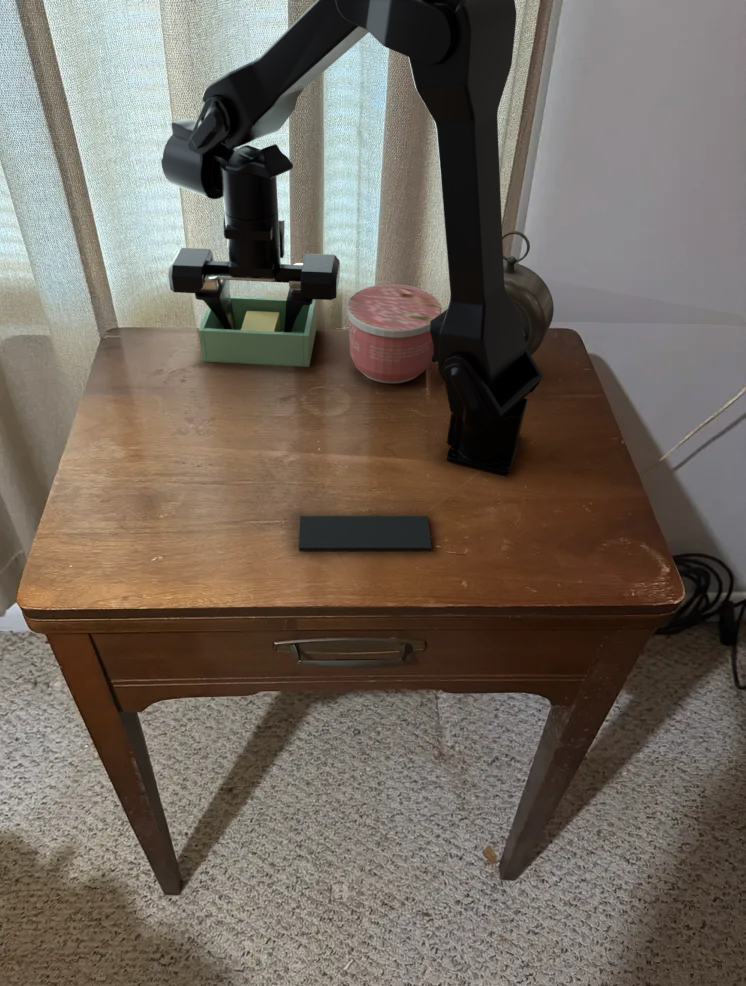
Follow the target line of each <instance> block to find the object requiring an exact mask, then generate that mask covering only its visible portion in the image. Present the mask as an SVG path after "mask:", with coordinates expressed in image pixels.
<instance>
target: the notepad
mask: <svg viewBox="0 0 746 986" xmlns="http://www.w3.org/2000/svg"><path fill="white" fill-rule="evenodd" d="M241 330H249V331H269V332H280V315H279V312H262V311H247V312H246V315H245V318H244V321H243V324H242V327H241Z"/></svg>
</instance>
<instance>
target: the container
mask: <svg viewBox="0 0 746 986" xmlns="http://www.w3.org/2000/svg"><path fill="white" fill-rule="evenodd" d="M441 313H442V305H441V303H440V301H439V300H438V299H437V298H436V297H435V296H434V295H433V294H432V293H429V292H428V291H426V290H423V289H421V288H418V287H416V286H411V285H405V284H395V283H392V284H391V283H387V284H386V283H385V284H378V285H373V286H368V287H366V288H363V289H360V290H359V291H357V292H355V293H354V294H353V295H351V297H350V298H349V299H348V301H347V303H346V316H347V318H348V339H349V355H350V357H351V359H352V362H353V365H354V366H355V368H356V369H357V370H358V371H359V372H360V373H362V375H364V376H365V377H366V378H368V379H370V380H372V381H376V382H378V383H383V384H402V383H406V382H410V381H411V380H414V379H415V378H417V377H418V376H419V375H421V374H422V373H424V372H425V371H426V370H427V368H428V367H429V365H430V363H431V362H432V357H433V354H434V346H433V341H432V337H431V333H430V322H431V320H432V319H434V318H435V317H437V316H438V315H439V314H441Z"/></svg>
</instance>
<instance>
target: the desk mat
mask: <svg viewBox="0 0 746 986" xmlns="http://www.w3.org/2000/svg"><path fill="white" fill-rule="evenodd" d="M429 524H430V523H429V518H428V515H300V516H299V531H298V532H299V534H298V551H299V552H356V551H357V552H373V551H374V552H377V551H378V552H387V551H388V552H390V551H391V552H396V551H397V552H400V551H401V552H406V551H407V552H408V551H409V552H412V551H413V552H420V551H421V552H422V551H423V552H424V551H425V552H430V551H432V550H433V547H432V540H431V539H432V538H431V532H430V531H431V530H430V525H429Z"/></svg>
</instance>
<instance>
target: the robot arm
mask: <svg viewBox="0 0 746 986" xmlns="http://www.w3.org/2000/svg"><path fill="white" fill-rule="evenodd" d="M516 7H517V6H516V0H315V1H314V2H313V3H312V4H311V5H310V6H309V7H308V8H307V9H306V10H305V11H304V12H303V13H302V14H301V16H299V17H298V19H296V20H295V21H294V22H293V24H291V25H290V26H289V27H288V28H287V29H286V30H285V31H284V32H283V33H282V34H281V35H280V36H279V37H278V38H277V39H276V40H275V41H274V42H273V43H272V44H271V45H270V46H269V47H268V48H267V49H266V50H265V51H264V52H263V53H262V54H261V55H260V56H259V57H257V58H256V59H253V60H252V61H250V62H248V63H246V64H244V65H242V66H240V67H237V68H236V69H233V70H231V71H229V72H227V73H226V74H223V75H221V76H220V77H219V78H217V79H215V80H214V81H212V82H210V83H209V84H207V86H206V87H205V89H204V91H203V94H202V99H201V100H202V102H203V105H202V108H201V111H200V113H199V115H198V118H197V119H196V121H194V120H193V119H190V118H187V117H185V118H181V119H179V120H175V121H172V122H171V131H172V134H171V135H170V137H169V138H168V139H167V141H166V142H165V145H164V148H163V152H162V158H161V161H160V162H161V168H162V172H163V175H164V177H165V179H166V180H167V181H168V182H169V183H170V184H171V185H173V186H174V187H178V188H180V189H183V190H185V191H189V192H191V193H194V194H197V195H199V196H202V197H204V198H208V199H211V200H219V199H221V198H222V200H223V222H222V223H223V225H222V226H223V227H222V228H223V238H224V239H226V243H227V253H228V261H224V260H222V261H221V260H214V253H213V251H212V250H211V248H197V247H181V248H180V249H179V250H178V251H177V252H176V253H175V256H174V258H173V260H172V261H171V263H170V265H169V268H168V273H167V274H168V275H167V276H168V282H169V289H170V291H172V293H180V294H181V293H183V294H194V297H195V299H196V300H197V301H203V302H204V303H205V305H206V306H207V307H209V308H210V309H211V310H212V312H213V313H214V314H215V315H216V317H217V318H218V320H219V321H220V323H221V324H222V326H223V327H224V329H229V330H236V323H235V318H234V313H233V308H232V302H231V297H230V296H231V291H230V281H241V282H242V281H244V282H262V283H265V282H266V283H284V284H286V283H287V284H288V292H287V296H286V298H285V299H286V310H285V324H284V332H289V333H291V332H292V329H293V326H294V323H295V320H296V318H297V316H298V314H299V313H300V311H301V309H302V307H303V306H304V305H311V304H312V303H313V300H319V301H320V300H321V301H332V300H334V299H337V295H338V290H339V284H340V283H339V282H340V278H341V261H340V259H339V258H338V256H336V254H325V253H324V254H323V253H321V254H320V253H305V254H304V259H303V262H296V263H294V264H290V263H289V264H286V263H281V259H284V256H285V219H284V218H279V216H280V215H279V196H278V195H279V194H278V177H279V176H280V175H283V174H285V173H287V172H290V171H292V170H293V168H294V164H293V162H292V161H291V160H290V158H289V157H288V156H287V155H286V154H284V153H283V151H281V149H280V148H279V146H278V144H276V143H274V144H271V145H269V146H266V147H264V148H262V147H258V146H255V145H251V144H249V143H253V142H254V141H257V140H260V139H262V138H265V137H267V136H270V135H273V134H275V133H277V132H279V131H280V130H281V128H282V127H283V126H284V124H286V123H287V121H288V119H289V118H290V116H291V115H293V113H294V111H295V109H296V107H297V101H298V98H299V96H300V95H301V94H302V93H303V91H304V90H305V89H306V88H307V87H308V86H309V85H310V84H312V83H313V82H314V81H315V80H316V79H317V78H318V77H320V76H321V75H322V74H323V73H324V72H325V71H326V70H327V69H328V68H330V67H332V65H333V64H334V63H336V62H337V61H338V60H339V59H340V58H341V57H343V56H344V55H345V54H346V53H347V52H349V50H351V49H352V48H353V47H354V46H355V45H356V44H357V43H358V42H360V40H362V39H363V38H364V37H365V36H367V35H368V34H370V35H371V36H372V37H373V38H375V39H376V41H377V42H378V43H379V44H380V45H382V47H385V48H387V49H388V50H391V51H394V52H396V53H399V54H401V55H403V56H406V57H408V62H409V65H410V67H409V68H410V70H411V77H412V79H413V80H412V81H413V84H414V88H415V90H416V92H417V94H418V96H419V97H420V99H421V101H422V102H423V104H424V106H425V107H426V109H427V111H428V112H429V115H430V116H431V118H432V120H433V122H434V125H435V129H436V141H437V142H436V143H437V151H438V152H437V153H438V165H439V176H440V188H441V201H442V210H443V211H442V212H443V222H444V235H445V246H446V257H447V268H448V269H447V270H448V281H449V282H448V283H449V292H450V297H449V303H448V306H447V308H446V309H445V310H443V311H441V314H439V315H438V316H437V317H435V318H434V319H432V320H431V322H430V333H431V337H432V341H433V346H434V351H433V357H432V359H431V362H432V363H433V364H435V363H437V369H438V372H439V375H440V378H441V380H442V382H443V383H444V386H445V391H446V395H447V401H448V405H449V411H450V416H449V417H450V418H449V424H448V425H449V426H448V432H447V438H446V444H447V445H448V446H450V447H449V449H448V451H447V453H446V460H447V461H448V462H450V463H454V464H457V465H462V466H466V467H470V468H473V469H478V470H482V471H486V472H491V473H494V474H498V475H501V476H508V475H509V474H510V471H511V469H512V466H513V463H514V460H515V459H516V455H517V452H518V449H519V446H520V444H521V441H522V436H521V430H522V425H523V421H524V417H525V414H526V413H525V412H526V408H527V403H528V399H527V398H526V397H527V396H528V395H529V394H532V393H533V392H534V391H535V390H536V389H537V388H538V386H539V384H540V383H541V381H542V380H543V379H544V375H543V373H542V372H541V369H540V368H539V366H538V365H537V363H536V361H535V360H534V358H533V356H532V355H531V354H530V353H529V351H528V349H527V348H526V346H525V339H524V334H523V329H522V324H521V319H520V314H519V311H518V309H517V307H516V306H515V304H514V303H513V301H512V299H511V298H510V296H509V295H508V293H507V291H506V289H505V284H504V264H503V262H504V259H503V255H504V243H503V242H504V241H503V240H502V236H503V221H502V219H503V218H502V197H501V174H500V172H501V169H500V148H499V126H498V125H499V124H498V114H499V107H500V103H501V100H502V97H503V94H504V92H505V88H506V85H507V81H508V78H509V75H510V72H511V70H512V69H511V68H512V65H513V57H514V46H515V37H516V26H517V8H516ZM238 147H239V148H238Z"/></svg>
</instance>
